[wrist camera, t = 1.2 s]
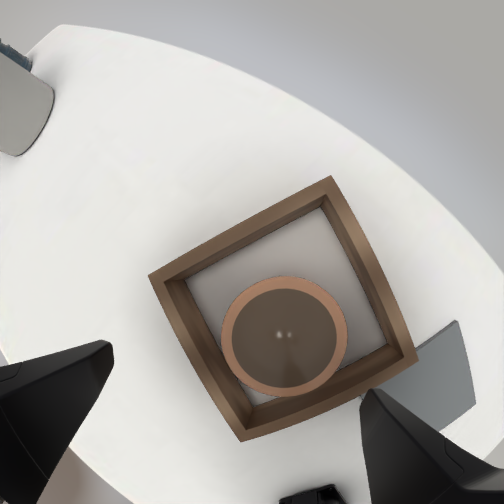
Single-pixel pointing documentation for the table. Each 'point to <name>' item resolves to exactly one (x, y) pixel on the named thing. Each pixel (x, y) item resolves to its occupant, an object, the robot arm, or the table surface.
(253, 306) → the terracotta pot
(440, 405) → the slate mat
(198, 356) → the brown wooden square frame
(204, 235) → the table surface
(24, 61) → the canister
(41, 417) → the robot arm
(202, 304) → the table surface
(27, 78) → the cylinder vase
